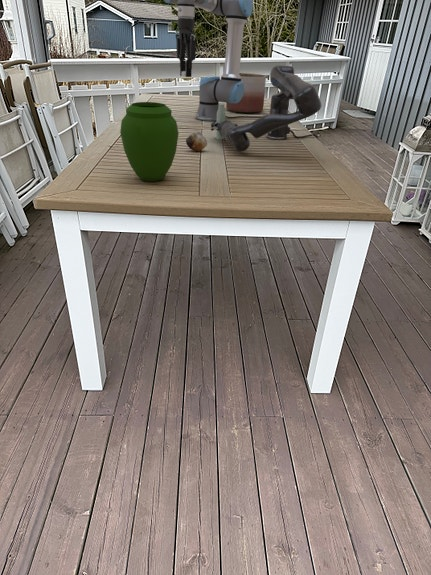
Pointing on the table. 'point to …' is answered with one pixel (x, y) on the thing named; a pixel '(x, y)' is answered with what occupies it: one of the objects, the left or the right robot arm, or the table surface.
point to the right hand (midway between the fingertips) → (219, 123)
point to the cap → (183, 73)
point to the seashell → (196, 141)
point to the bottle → (220, 119)
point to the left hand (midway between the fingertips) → (185, 76)
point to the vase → (149, 139)
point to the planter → (250, 94)
